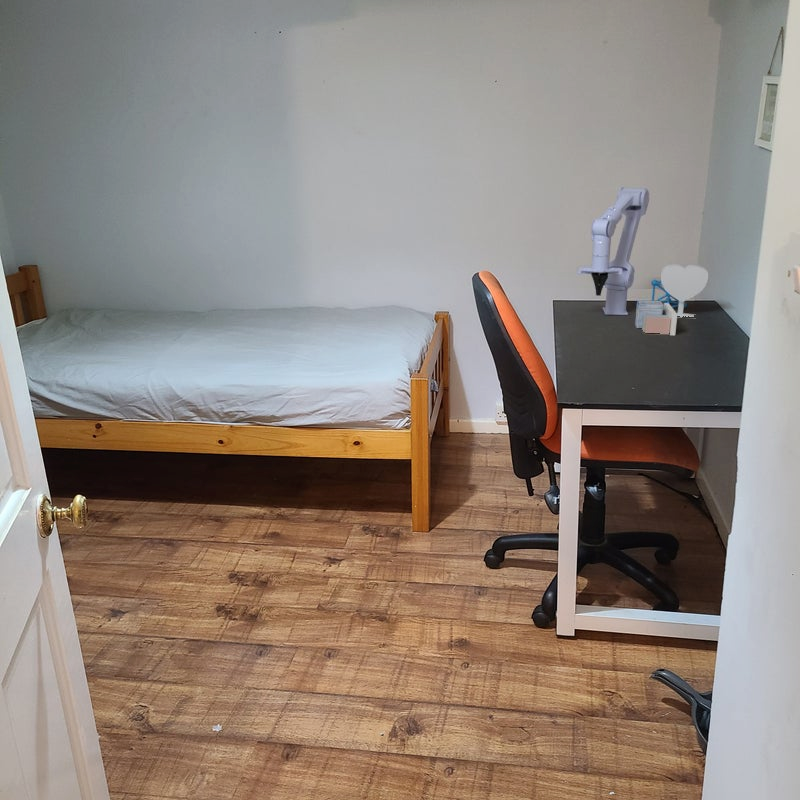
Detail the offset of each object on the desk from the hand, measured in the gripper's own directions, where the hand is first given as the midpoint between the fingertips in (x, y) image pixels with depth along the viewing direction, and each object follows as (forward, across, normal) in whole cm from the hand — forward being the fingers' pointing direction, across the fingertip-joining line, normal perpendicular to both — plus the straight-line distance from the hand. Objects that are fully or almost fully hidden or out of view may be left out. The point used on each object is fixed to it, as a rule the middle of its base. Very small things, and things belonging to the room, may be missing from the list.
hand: (598, 295), depth 276 cm
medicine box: (+10, +16, -6) cm, 20 cm away
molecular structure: (+10, +28, +24) cm, 38 cm away
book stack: (+9, +19, -7) cm, 22 cm away
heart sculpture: (+10, +30, +11) cm, 33 cm away
